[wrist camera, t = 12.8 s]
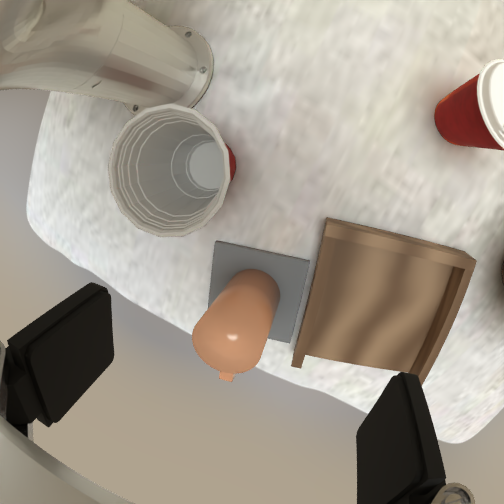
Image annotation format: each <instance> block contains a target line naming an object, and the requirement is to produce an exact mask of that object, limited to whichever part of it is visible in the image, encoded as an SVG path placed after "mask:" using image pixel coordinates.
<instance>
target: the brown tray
mask: <svg viewBox="0 0 504 504" xmlns="http://www.w3.org/2000/svg"><path fill="white" fill-rule="evenodd" d="M476 262H477V261H476V260H475V259H474V258H472V257H471V256H470V255H468V254H467V253H466V252H465V251H461V250H458V249H454V248H451V247H447V246H443V245H440V244H436V243H432V242H428V241H424V240H421V239H417V238H413V237H409V236H405V235H401V234H397V233H393V232H389V231H384V230H380V229H376V228H372V227H368V226H363V225H359V224H355V223H350V222H346V221H341V220H337V219H332V218H328V217H327V218H326V223H325V227H324V232H323V237H322V241H321V246H320V250H319V255H318V259H317V263H316V268H315V272H314V276H313V280H312V285H311V289H310V293H309V297H308V301H307V305H306V308H305V312H304V316H303V320H302V324H301V328H300V331H299V335H298V339H297V342H296V346H295V349H294V354H293V360H292V365H291V366H292V367H297V368H301V367H302V363H303V360H304V357H305V355H309V356H314V357H319V358H324V359H329V360H334V361H339V362H345V363H350V364H356V365H362V366H368V367H374V368H380V369H387V370H394V371H401V372H408V373H411V374H416V375H418V377H419V380H420V383H421V386H422V384H423V382H424V381H425V379H426V377H427V375H428V373H429V372H430V370H431V368H432V366H433V364H434V362H435V360H436V358H437V356H438V354H439V352H440V350H441V348H442V346H443V344H444V342H445V340H446V338H447V336H448V334H449V331H450V329H451V327H452V325H453V322H454V320H455V318H456V315H457V313H458V311H459V308H460V306H461V303H462V301H463V298H464V296H465V293H466V290H467V288H468V285H469V282H470V279H471V277H472V274H473V271H474V268H475V265H476Z"/></svg>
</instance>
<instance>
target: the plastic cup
mask: <svg viewBox="0 0 504 504" xmlns="http://www.w3.org/2000/svg"><path fill="white" fill-rule="evenodd" d="M235 170H236V164H235V157H234V155H233V153H232V151H231V149H230V148H229V147H228V146H227V145H226V144H225V143H224V142H223V140H222V138H221V136H220V134H219V132H218V130H217V128H216V126H215V125H214V124H212V123H211V122H210V121H209V120H207V119H206V118H205V117H204V116H203V115H201V114H200V113H199V112H198V111H196V110H195V109H191V108H187V107H183V106H179V105H175V104H166V105H161V106H156V107H151V108H146V109H145V110H143V111H142V112H141V113H139V114H138V115H136V116H135V117H134V118H132V119H131V120H129V121H128V122H127V123H126V124H125V126H124V127H123V129H122V130H121V132H120V133H119V135H118V136H117V138H116V140H115V141H114V143H113V146H112V151H111V155H110V160H109V164H108V172H109V180H110V188H111V192H112V195H113V197H114V199H115V201H116V203H117V205H118V207H119V209H120V211H121V213H122V214H123V215H125V216H126V217H127V218H128V219H129V220H130V221H131V222H132V223H133V224H134V225H135V226H136V227H137V228H138V229H141V230H143V231H146V232H148V233H151V234H153V235H156V236H158V237H179V236H185V235H187V234H189V233H191V232H193V231H195V230H197V229H199V228H201V227H203V226H205V225H206V224H207V223H208V222H209V221H210V219H211V218H212V217H213V216H214V215H215V213H216V212H217V211H218V210H219V209H220V208H221V206H222V204H223V201H224V198H225V195H226V192H227V189H228V186H229V183H230V181H231V180H232V179H233V176H234V173H235Z"/></svg>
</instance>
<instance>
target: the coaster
mask: <svg viewBox="0 0 504 504" xmlns="http://www.w3.org/2000/svg"><path fill="white" fill-rule="evenodd" d="M309 263H310V261H309V260H305V259H300V258H295V257H291V256H286V255H281V254H277V253H272V252H268V251H263V250H258V249H254V248H249V247H244V246H240V245H235V244H230V243H226V242H221V241H216V242H215V246H214V255H213V264H212V273H211V283H210V292H209V303H208V308H209V307H210V306H211V304H212V303H213V302H214V301H215V299H216V298H217V297H218V295H219V294H220V293H221V291H222V290H223V289H224V288H225V286H226V285H227V284H228V282H229V281H230V280H231V279H232V277H233V276H234V275H235V274H237V273H238V272H240V271H242V270H246V269H257V270H261V271H263V272H265V273H267V274H268V275H270V276H271V277H272V278H273V279H274V280H275V281H276V283H277V285H278V287H279V290H280V302H279V305H278V308H277V311H276V314H275V317H274V320H273V323H272V326H271V329H270V332H269V335H268V338H269V339H273V340H277V341H281V342H286V343H290V341H291V337H292V333H293V329H294V325H295V322H296V318H297V314H298V310H299V306H300V301H301V297H302V293H303V289H304V285H305V280H306V276H307V272H308V267H309Z"/></svg>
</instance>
